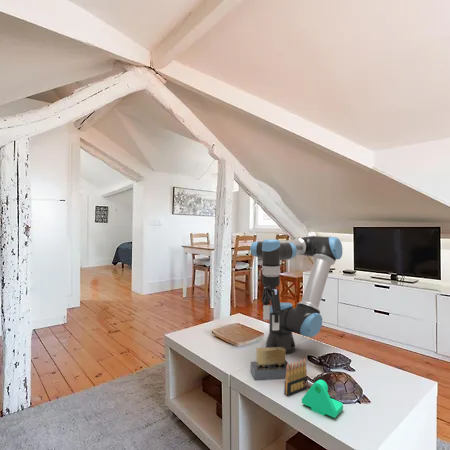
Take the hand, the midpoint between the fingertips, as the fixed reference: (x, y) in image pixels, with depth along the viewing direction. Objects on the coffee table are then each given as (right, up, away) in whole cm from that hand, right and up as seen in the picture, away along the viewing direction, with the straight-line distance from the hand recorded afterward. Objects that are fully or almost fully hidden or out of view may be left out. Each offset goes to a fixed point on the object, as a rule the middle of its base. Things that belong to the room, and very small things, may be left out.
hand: (270, 324), depth 131 cm
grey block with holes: (0, -21, -1) cm, 21 cm away
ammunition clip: (+8, -22, -14) cm, 27 cm away
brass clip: (0, -21, -1) cm, 21 cm away
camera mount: (+15, -22, -24) cm, 36 cm away
